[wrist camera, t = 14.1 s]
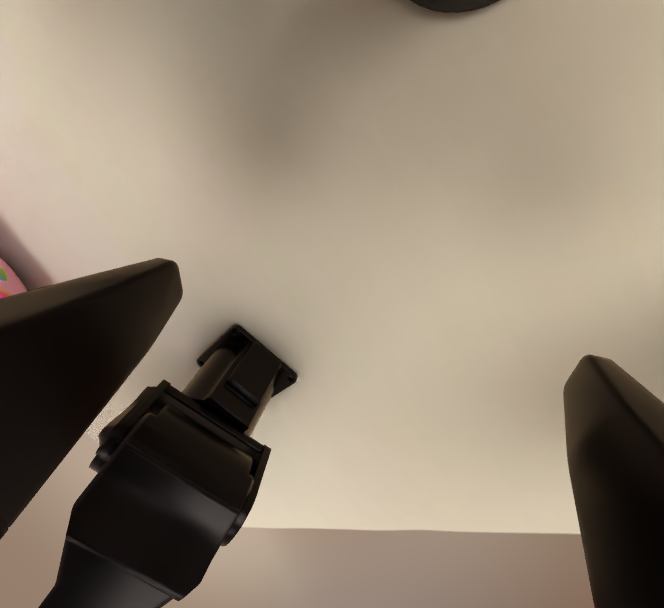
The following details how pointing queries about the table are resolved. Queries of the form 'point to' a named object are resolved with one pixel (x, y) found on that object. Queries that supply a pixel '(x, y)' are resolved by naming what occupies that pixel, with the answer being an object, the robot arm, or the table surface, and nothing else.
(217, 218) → the table surface
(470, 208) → the table surface
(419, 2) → the coaster
